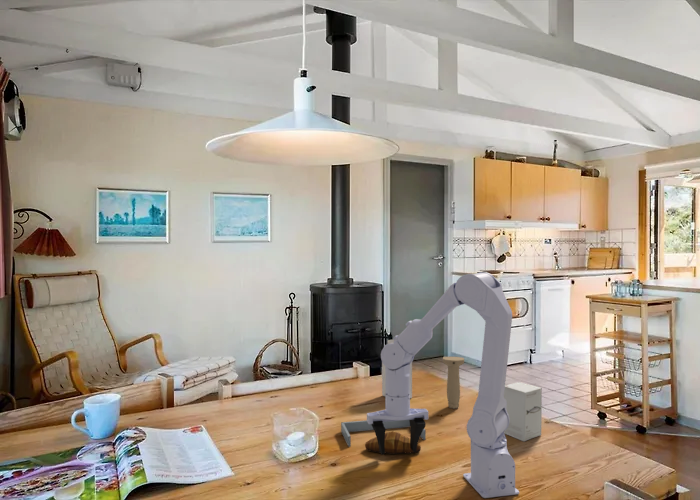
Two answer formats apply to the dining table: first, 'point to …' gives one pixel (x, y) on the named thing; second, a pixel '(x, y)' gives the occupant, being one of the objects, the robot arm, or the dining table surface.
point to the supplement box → (523, 410)
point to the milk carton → (384, 375)
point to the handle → (453, 380)
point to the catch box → (364, 426)
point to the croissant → (392, 444)
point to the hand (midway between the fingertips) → (397, 451)
